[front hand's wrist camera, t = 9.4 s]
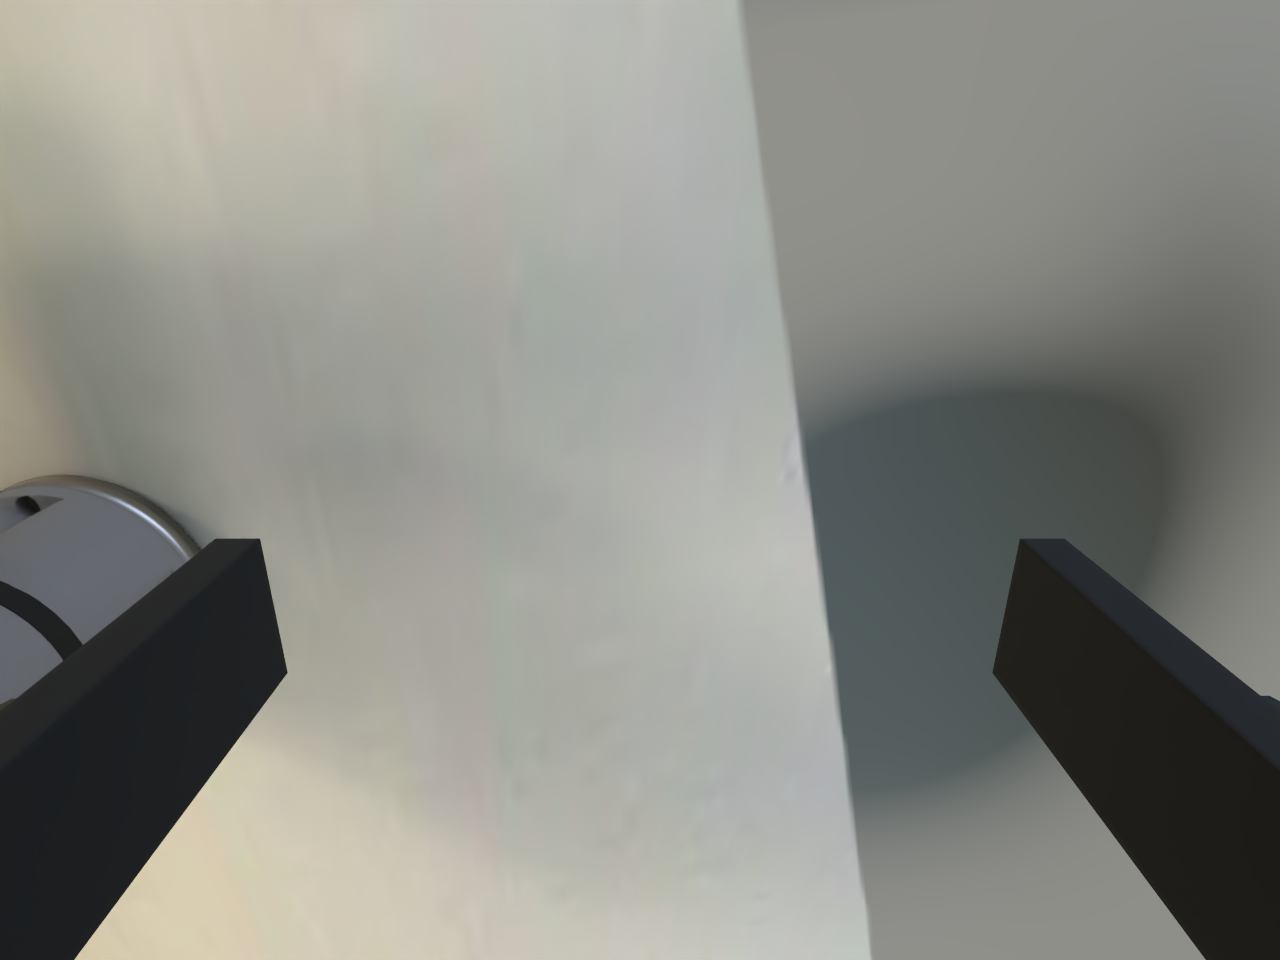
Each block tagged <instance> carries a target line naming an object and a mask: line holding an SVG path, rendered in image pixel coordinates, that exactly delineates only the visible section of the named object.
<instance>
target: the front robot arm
mask: <svg viewBox="0 0 1280 960" xmlns="http://www.w3.org/2000/svg"><path fill="white" fill-rule="evenodd" d="M286 674H287V668H286V663H285V658H284V653H283V649H282V644H281V639H280V634H279V629H278V624H277V619H276V614H275V610H274V605H273V600H272V595H271V590H270V585H269V580H268V575H267V571H266V566H265V561H264V556H263V551H262V546H261V541H260V539H215V540H213V541H212V542H211V543H210V544H208V545H207V546H206V547H205V548H203V549H202V550H201V551H200V549H199V548H198V547H197V545H196V544H195V542H194V541H193V540H192V539H191V537H190V536H189V535H188V534H187V533H186V532H185V531H184V530H183V529H182V528H181V527H180V525H179V524H178V523H177V522H175V521H174V520H173V519H172V518H171V517H170V516H168V515H167V514H166V513H165V512H163V511H162V510H161V509H159V508H158V507H157V506H155V505H154V504H152V503H151V502H149V501H147V500H146V499H144V498H142V497H140V496H138V495H137V494H135V493H133V492H131V491H128V490H126V489H124V488H121V487H119V486H116V485H113V484H110V483H108V482H104V481H100V480H96V479H92V478H86V477H80V476H69V475H53V476H43V477H38V478H33V479H29V480H26V481H23V482H20V483H17V484H15V485H13V486H11V487H8V488H6V489H4V490H2V491H0V960H74V959H75V958H76V956H77V955H78V954H79V952H80V951H81V950H82V948H83V947H84V946H85V944H86V943H87V942H88V940H89V939H90V938H91V936H92V935H93V934H94V932H95V931H96V930H97V928H98V927H99V926H100V924H101V923H102V922H103V920H104V919H105V917H106V916H107V915H108V913H109V912H110V911H111V909H112V908H113V907H114V905H115V904H116V903H117V901H118V900H119V899H120V897H121V896H122V895H123V893H124V892H125V891H126V889H127V888H128V887H129V885H130V884H131V883H132V881H133V880H134V878H135V877H136V876H137V874H138V873H139V872H140V870H141V869H142V868H143V866H144V865H145V864H146V862H147V861H148V860H149V858H150V857H151V856H152V854H153V853H154V852H155V850H156V849H157V848H158V846H159V845H160V844H161V842H162V841H163V839H164V838H165V837H166V835H167V834H168V833H169V831H170V830H171V829H172V827H173V826H174V825H175V823H176V822H177V821H178V819H179V818H180V817H181V815H182V814H183V813H184V811H185V810H186V809H187V807H188V806H189V805H190V803H191V802H192V800H193V799H194V798H195V796H196V795H197V794H198V792H199V791H200V790H201V788H202V787H203V786H204V784H205V783H206V782H207V780H208V779H209V778H210V776H211V775H212V774H213V772H214V771H215V770H216V768H217V767H218V766H219V764H220V763H221V761H222V760H223V759H224V757H225V756H226V755H227V753H228V752H229V751H230V749H231V748H232V747H233V745H234V744H235V743H236V741H237V740H238V739H239V737H240V736H241V735H242V733H243V732H244V731H245V729H246V728H247V727H248V725H249V724H250V722H251V721H252V720H253V718H254V717H255V716H256V714H257V713H258V712H259V710H260V709H261V708H262V706H263V705H264V704H265V702H266V701H267V700H268V698H269V697H270V696H271V694H272V693H273V692H274V690H275V689H276V688H277V686H278V685H279V683H280V682H281V681H282V679H283V678H284V677H285V675H286ZM993 674H994V675H995V677H996V678H997V679H998V681H999V682H1000V683H1001V685H1002V686H1003V688H1004V689H1005V690H1006V691H1007V693H1008V694H1009V696H1010V697H1011V698H1012V700H1013V701H1014V702H1015V704H1016V705H1017V706H1018V708H1019V709H1020V710H1021V712H1022V713H1023V714H1024V716H1025V717H1026V718H1027V720H1028V721H1029V722H1030V724H1031V725H1032V727H1033V728H1034V729H1035V731H1036V732H1037V733H1038V735H1039V736H1040V737H1041V739H1042V740H1043V741H1044V743H1045V744H1046V745H1047V747H1048V748H1049V749H1050V751H1051V752H1052V753H1053V755H1054V756H1055V757H1056V759H1057V760H1058V761H1059V763H1060V764H1061V765H1062V767H1063V768H1064V770H1065V771H1066V772H1067V774H1068V775H1069V776H1070V778H1071V779H1072V780H1073V781H1074V783H1075V784H1076V786H1077V787H1078V788H1079V790H1080V791H1081V792H1082V794H1083V795H1084V796H1085V798H1086V799H1087V800H1088V802H1089V803H1090V805H1091V806H1092V807H1093V809H1094V810H1095V811H1096V813H1097V814H1098V815H1099V817H1100V818H1101V819H1102V821H1103V822H1104V823H1105V825H1106V826H1107V827H1108V829H1109V830H1110V831H1111V833H1112V834H1113V835H1114V837H1115V838H1116V839H1117V841H1118V842H1119V843H1120V845H1121V846H1122V848H1123V849H1124V850H1125V852H1126V853H1127V854H1128V856H1129V857H1130V858H1131V860H1132V861H1133V862H1134V864H1135V865H1136V866H1137V868H1138V869H1139V870H1140V872H1141V873H1142V874H1143V876H1144V877H1145V878H1146V880H1147V881H1148V883H1149V884H1150V885H1151V887H1152V888H1153V889H1154V891H1155V892H1156V893H1157V895H1158V896H1159V897H1160V899H1161V900H1162V901H1163V903H1164V904H1165V905H1166V907H1167V908H1168V909H1169V911H1170V912H1171V913H1172V915H1173V916H1174V917H1175V919H1176V920H1177V922H1178V923H1179V924H1180V926H1181V927H1182V928H1183V930H1184V931H1185V932H1186V934H1187V935H1188V936H1189V938H1190V939H1191V940H1192V942H1193V943H1194V944H1195V946H1196V947H1197V948H1198V950H1199V951H1200V952H1201V954H1202V955H1203V956H1204V958H1205V959H1206V960H1280V701H1278V700H1276V699H1274V698H1272V697H1271V696H1260V695H1259V694H1257V693H1256V692H1255V691H1254V690H1252V689H1251V688H1250V687H1249V686H1247V685H1246V684H1245V683H1244V682H1242V681H1241V680H1240V679H1239V678H1238V677H1236V676H1235V675H1234V674H1233V673H1231V672H1230V671H1229V670H1228V669H1226V668H1225V667H1224V666H1222V665H1221V664H1220V663H1219V662H1217V661H1216V660H1215V659H1214V658H1213V657H1211V656H1210V655H1209V654H1208V653H1206V652H1205V651H1204V650H1203V649H1201V648H1200V647H1199V646H1198V645H1196V644H1195V643H1194V642H1192V641H1191V640H1190V639H1189V638H1188V637H1186V636H1185V635H1184V634H1183V633H1181V632H1180V631H1179V630H1178V629H1176V628H1175V627H1174V626H1173V625H1171V624H1170V623H1169V622H1168V621H1166V620H1165V619H1164V618H1163V617H1161V616H1160V615H1159V614H1158V613H1156V612H1155V611H1154V610H1153V609H1151V608H1150V607H1149V606H1148V605H1146V604H1145V603H1144V602H1143V601H1141V600H1140V599H1139V598H1138V597H1136V596H1135V595H1134V594H1133V593H1131V592H1130V591H1129V590H1128V589H1126V588H1125V587H1124V586H1123V585H1121V584H1120V583H1119V582H1118V581H1116V580H1115V579H1114V578H1113V577H1111V576H1110V575H1109V574H1108V573H1106V572H1105V571H1104V570H1103V569H1102V568H1100V567H1099V566H1098V565H1097V564H1095V563H1094V562H1093V561H1092V560H1090V559H1089V558H1088V557H1086V556H1085V555H1084V554H1083V553H1082V552H1080V551H1079V550H1078V549H1076V548H1075V547H1074V546H1073V545H1072V544H1070V543H1069V542H1068V541H1067V540H1065V539H1020V541H1019V546H1018V551H1017V556H1016V561H1015V566H1014V571H1013V576H1012V580H1011V585H1010V590H1009V595H1008V600H1007V605H1006V610H1005V614H1004V619H1003V624H1002V629H1001V634H1000V639H999V644H998V649H997V654H996V658H995V663H994V668H993Z"/></svg>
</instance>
